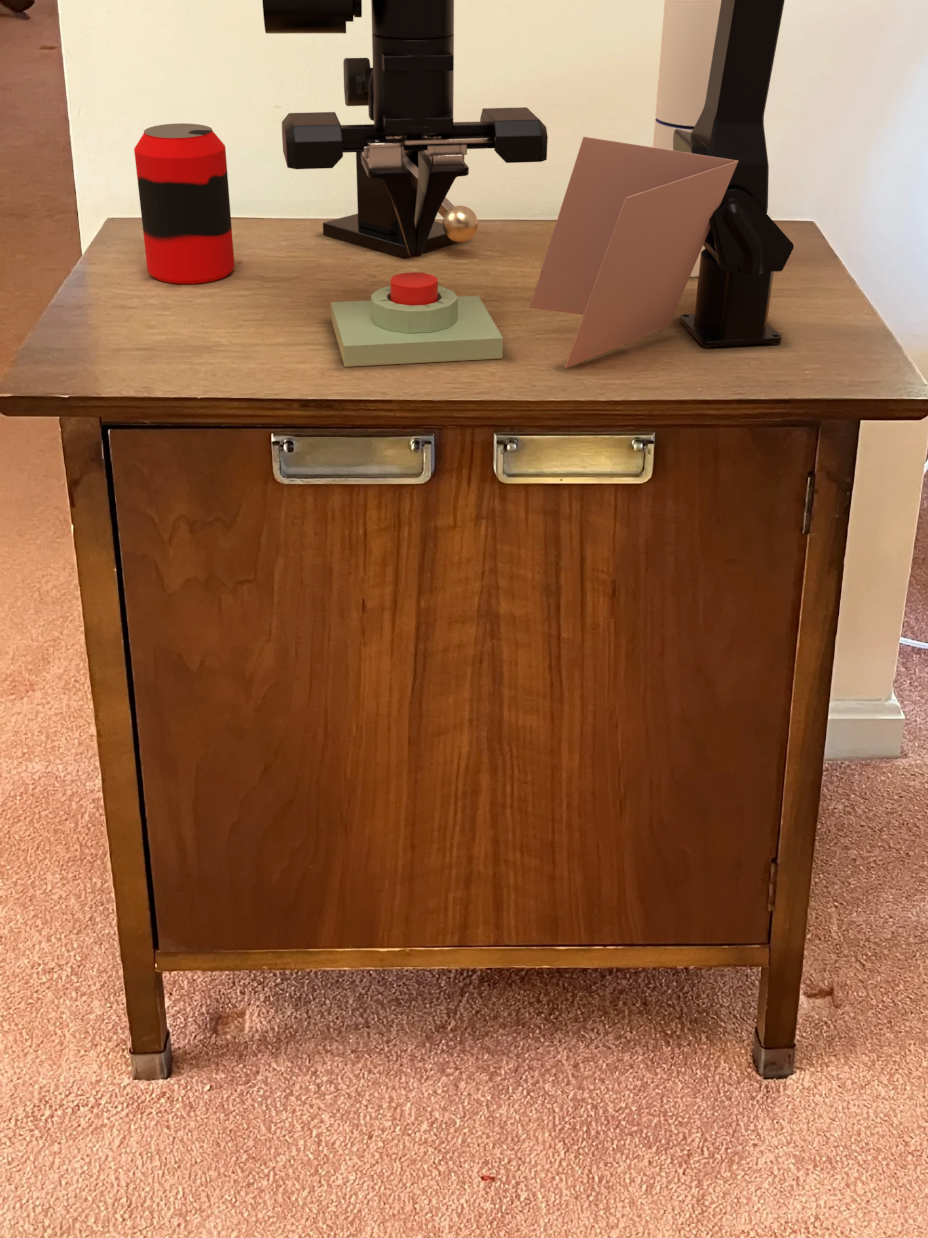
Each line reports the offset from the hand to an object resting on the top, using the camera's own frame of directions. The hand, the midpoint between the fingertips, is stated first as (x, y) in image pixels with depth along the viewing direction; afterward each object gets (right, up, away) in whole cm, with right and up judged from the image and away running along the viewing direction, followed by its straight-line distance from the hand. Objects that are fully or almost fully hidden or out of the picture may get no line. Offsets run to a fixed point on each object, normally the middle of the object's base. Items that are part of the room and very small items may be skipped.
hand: (414, 255), depth 103 cm
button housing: (0, -6, +3) cm, 7 cm away
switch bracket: (-3, +9, +27) cm, 29 cm away
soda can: (-20, +3, +18) cm, 27 cm away
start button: (0, -3, +2) cm, 4 cm away
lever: (0, +11, +23) cm, 25 cm away
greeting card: (+15, -6, +2) cm, 16 cm away
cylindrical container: (+24, +5, +21) cm, 32 cm away
